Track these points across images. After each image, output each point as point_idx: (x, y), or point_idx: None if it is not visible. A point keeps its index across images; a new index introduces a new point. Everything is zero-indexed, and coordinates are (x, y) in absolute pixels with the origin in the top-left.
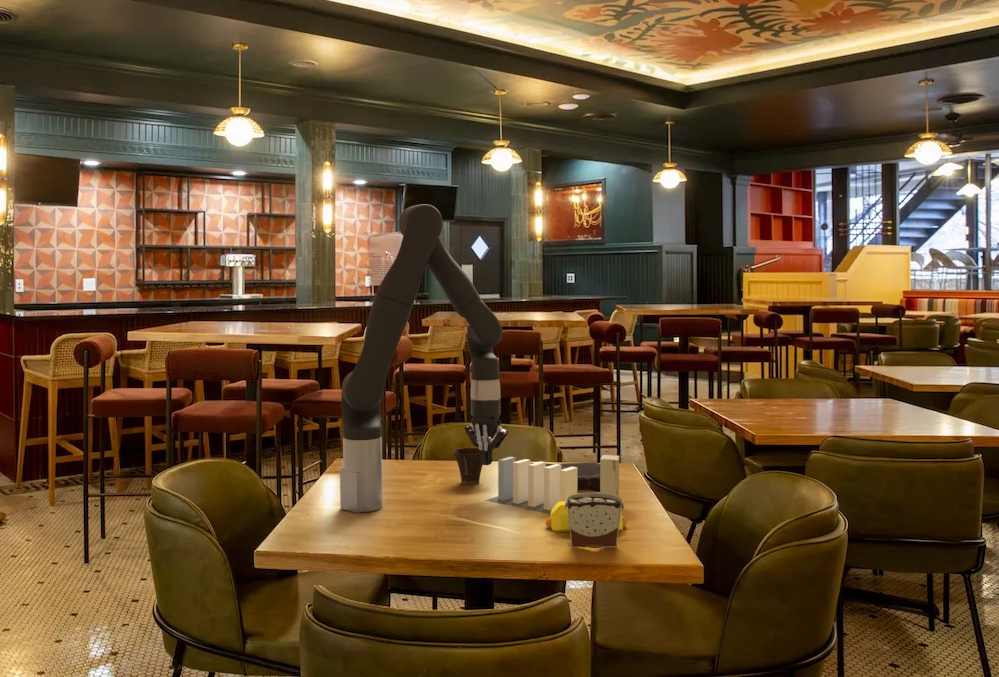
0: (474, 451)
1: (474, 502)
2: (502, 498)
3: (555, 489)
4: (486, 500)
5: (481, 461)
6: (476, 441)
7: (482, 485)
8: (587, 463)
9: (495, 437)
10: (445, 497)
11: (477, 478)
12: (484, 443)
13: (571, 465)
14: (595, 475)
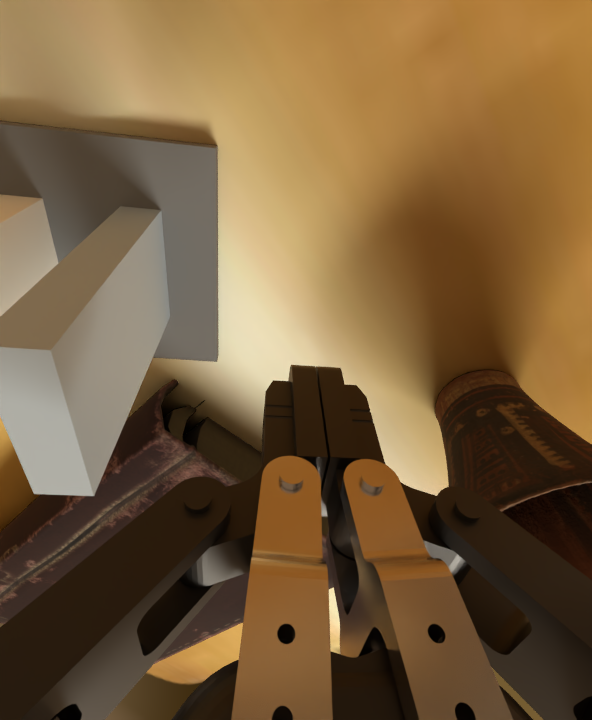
0: None
1: (279, 113)
2: (123, 210)
3: None
4: (205, 150)
5: (343, 381)
6: (468, 558)
7: (418, 415)
8: None
9: (60, 668)
10: (512, 116)
11: (445, 422)
12: (315, 537)
13: None
14: (8, 591)
